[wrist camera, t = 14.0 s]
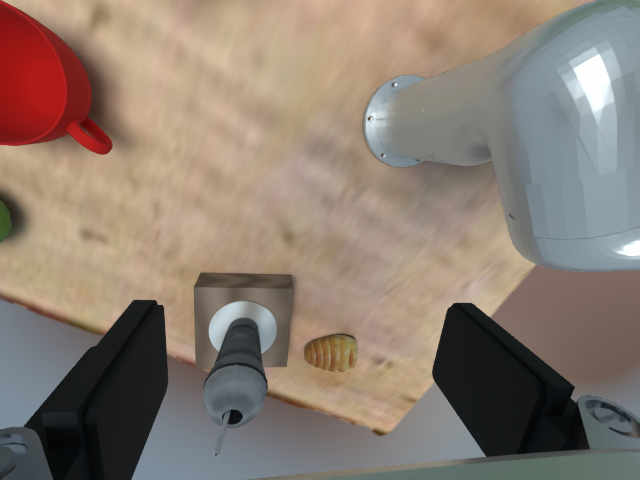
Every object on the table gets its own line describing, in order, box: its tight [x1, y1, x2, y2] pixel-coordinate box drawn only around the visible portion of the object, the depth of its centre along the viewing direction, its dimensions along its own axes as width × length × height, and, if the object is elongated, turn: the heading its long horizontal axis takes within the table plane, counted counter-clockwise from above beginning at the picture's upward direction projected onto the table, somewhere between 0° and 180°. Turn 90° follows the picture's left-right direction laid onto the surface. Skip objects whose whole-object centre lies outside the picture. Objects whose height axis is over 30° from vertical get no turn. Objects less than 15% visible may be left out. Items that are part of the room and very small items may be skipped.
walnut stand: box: [194, 273, 293, 369], centre depth 49 cm, size 14×14×5 cm
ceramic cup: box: [0, 0, 113, 155], centre depth 34 cm, size 13×17×10 cm
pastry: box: [304, 334, 357, 372], centre depth 55 cm, size 9×7×4 cm
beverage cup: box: [203, 317, 268, 457], centre depth 37 cm, size 7×7×20 cm
